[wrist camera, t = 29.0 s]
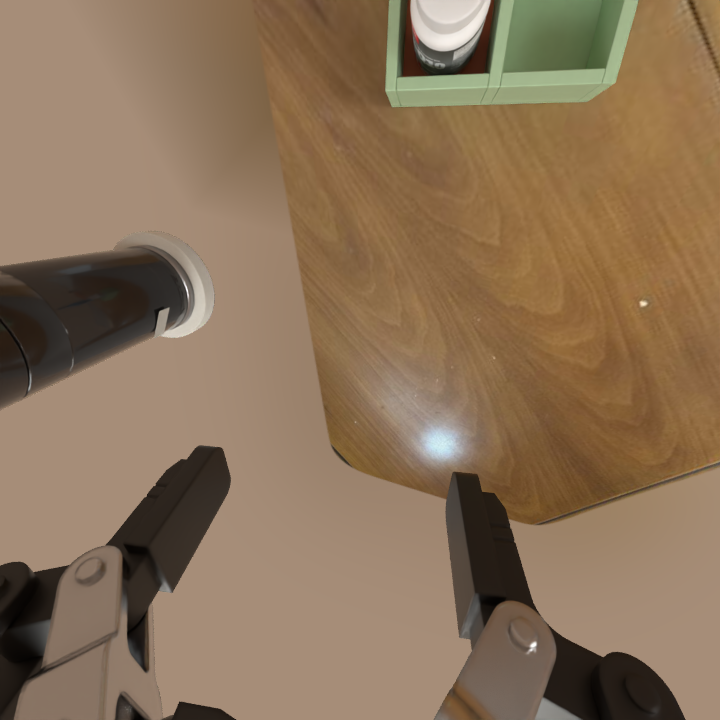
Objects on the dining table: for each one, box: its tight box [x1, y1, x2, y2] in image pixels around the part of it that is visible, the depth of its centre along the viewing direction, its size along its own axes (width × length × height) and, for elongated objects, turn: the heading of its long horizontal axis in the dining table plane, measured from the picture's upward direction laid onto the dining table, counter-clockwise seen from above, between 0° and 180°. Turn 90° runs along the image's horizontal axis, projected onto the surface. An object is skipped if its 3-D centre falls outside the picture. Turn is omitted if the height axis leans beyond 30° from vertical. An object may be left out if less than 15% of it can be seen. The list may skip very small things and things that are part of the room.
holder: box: [385, 0, 639, 107], centre depth 23 cm, size 15×8×4 cm, turn 89°
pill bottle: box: [410, 0, 491, 76], centre depth 21 cm, size 5×5×8 cm
